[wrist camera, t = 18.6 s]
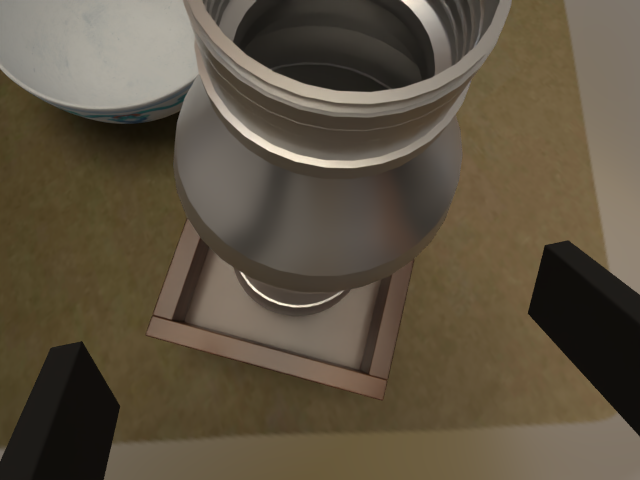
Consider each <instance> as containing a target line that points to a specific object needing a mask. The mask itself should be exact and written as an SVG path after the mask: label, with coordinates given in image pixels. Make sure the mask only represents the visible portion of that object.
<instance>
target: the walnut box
mask: <svg viewBox="0 0 640 480" xmlns="http://www.w3.org/2000/svg"><path fill="white" fill-rule="evenodd" d="M414 259H415V258H414ZM414 259H413V260H412V261H411V262H409V263H408V264H406V265H405V266H403V267H402V268H400V269H399V270H397V271H396V272H394V273H393V274H391V275H390V276H388V277H385V278H383V279H381V280H378V281H376V282H373V283H371V284H368V285H366V286H363V287H359V288H354V289H351V290H350V292H349V293H348V294H347V295H346V296H345V297H344V298H343V299H342V300H341V301H340V302H338V303H337V304H335V305H333V306H332V307H330V308H329V309H326V310H324V311H321V312H319V313H316V314H311V315H306V316H289V315H284V314H279V313H276V312H273V311H271V310H268V309H266V308H264V307H263V306H261V305H260V304H258V303H257V302H255V301H254V300H253V299H252V298H251V297H250V296H249V295H248V294H247V293H246V292H245V290H244V289H243V287H242V286H241V284H240V283H239V281H238V278H237V276H236V273H235V271H234V267H233V266H231V265H229V264H228V263H226V262H225V261H223V260H222V259H221V258H220V257H219V256H218V255H217V254H216V253H215V252H214V251H213V250H212V249H211V248H210V247H209V246H208V245H207V244H206V243H205V242H204V241H203V240H202V239H201V238H200V236H199V235H198V233H197V231H196V230H195V228H194V227H193V225H192V224H191V222H190V221H189V219H188V218H187V220H186V222H185V225H184V228H183V231H182V234H181V236H180V239H179V242H178V245H177V247H176V250H175V253H174V256H173V259H172V261H171V264H170V267H169V270H168V273H167V275H166V278H165V281H164V284H163V287H162V289H161V292H160V295H159V298H158V301H157V303H156V306H155V309H154V312H153V315H154V316H152V318H151V320H150V323H149V326H148V329H147V332H146V336H149V337H153V338H156V339H160V340H164V341H167V342H171V343H175V344H178V345H182V346H185V347H189V348H193V349H196V350H200V351H204V352H207V353H211V354H215V355H218V356H222V357H225V358H229V359H233V360H236V361H240V362H244V363H247V364H251V365H255V366H258V367H262V368H266V369H269V370H273V371H276V372H280V373H284V374H287V375H291V376H295V377H298V378H302V379H306V380H309V381H313V382H316V383H320V384H324V385H327V386H331V387H335V388H338V389H342V390H346V391H349V392H353V393H357V394H360V395H364V396H367V397H371V398H375V399H378V400H383V399H384V395H385V390H386V386H387V380H388V377H389V372H390V368H391V363H392V359H393V354H394V349H395V345H396V340H397V336H398V331H399V327H400V322H401V318H402V313H403V309H404V304H405V300H406V295H407V290H408V286H409V281H410V277H411V272H412V268H413V263H414Z"/></svg>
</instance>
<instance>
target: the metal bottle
mask: <svg viewBox="0 0 640 480" xmlns="http://www.w3.org/2000/svg"><path fill="white" fill-rule="evenodd" d="M511 1H512V0H183V3H184V6H185V9H186V12H187V15H188V18H189V20H190V24H191V27H192V30H193V33H194V35H195V43H194V49H195V55H196V60H197V66H198V72H199V75H198V76H197V77H196V79H195V81H194V82H193V84H192V86H191V88H190V89H189V91H188V93H187V95H186V96H185V98H184V102H183V105H182V108H181V111H180V114H179V118H178V121H177V127H176V137H175V149H174V162H173V168H174V175H175V181H176V188H177V193H178V195H179V198H180V201H181V203H182V206H183V208H184V211H185V214H186V216H187V218H188V219H189V221H190V222H191V224H192V225H193V227H194V228H195V230H196V231H197V233H198V235H199V236H200V238H201V239H202V240H203V241H204V242H205V243H206V244H207V245H208V246H209V247H210V248H211V249H212V250H213V251H214V252H215V253H216V254H217V255H218V256H219V257H220V258H221V259H222V260H223V261H225V262H226V263H228V264H229V265H231V266H233V267H234V271H235V273H236V276H237V278H238V281H239V283H240V284H241V286H242V287H243V289H244V290H245V292H246V293H247V294H248V295H249V296H250V297H251V298H252V299H253V300H254V301H255V302H257V303H258V304H260V305H261V306H263V307H264V308H266V309H268V310H271V311H273V312H276V313H279V314H284V315H289V316H306V315H311V314H316V313H319V312H321V311H324V310H326V309H329V308H330V307H332V306H333V305H335V304H337V303H338V302H340V301H341V300H342V299H343V298H344V297H345V296H346V295H347V294H348V293H349V292H350V290H351V289H354V288H359V287H363V286H366V285H368V284H371V283H373V282H376V281H378V280H381V279H383V278H385V277H388V276H390V275H391V274H393V273H394V272H396V271H397V270H399V269H400V268H402V267H403V266H405V265H406V264H408V263H409V262H411V261H412V260H413V259H414V258H415V257H416V256H417V255H418V254H419V253H420V252H421V251H422V250H423V249H424V248H425V247H426V246H427V245H428V244H429V243H430V242H431V241H432V239H433V238H434V236H435V235H436V233H437V232H438V230H439V228H440V227H441V225H442V224H443V222H444V221H445V218H446V216H447V213H448V210H449V207H450V205H451V202H452V199H453V197H454V194H455V191H456V187H457V184H458V181H459V176H460V169H461V162H462V143H461V131H460V127H459V124H458V121H457V117H456V112H457V111H458V109H459V108H460V107H461V105H462V104H463V101H464V99H465V96H466V93H467V91H468V88H469V85H470V83H471V79H472V78H473V77H474V75H475V74H476V72H477V71H478V70H479V68H480V67H481V66H482V64H483V63H484V61H485V60H486V58H487V57H488V55H489V54H490V52H491V51H492V49H493V48H494V47H495V45H496V43H497V40H498V37H499V35H500V32H501V31H502V28H503V26H504V23H505V20H506V18H507V15H508V12H509V10H510V7H511Z"/></svg>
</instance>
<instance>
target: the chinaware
mask: <svg viewBox="0 0 640 480" xmlns="http://www.w3.org/2000/svg"><path fill="white" fill-rule="evenodd" d="M194 43H195V35H194V33H193V30H192V27H191V24H190V20H189V18H188V15H187V12H186V9H185V6H184V3H183V0H0V69H1V70H2V71H3V72H4V73H5V74H6V75H7V76H8V77H9V78H10V79H11V80H13V81H14V82H15V83H16V84H18V85H19V86H20V87H22V88H23V89H25V90H26V91H28V92H29V93H31V94H33V95H34V96H36V97H38V98H40V99H41V100H43V101H45V102H47V103H49V104H51V105H53V106H55V107H57V108H60V109H62V110H64V111H67V112H69V113H72V114H75V115H78V116H81V117H84V118H88V119H92V120H96V121H102V122H108V123H118V124H133V123H144V122H150V121H154V120H158V119H162V118H165V117H167V116H170V115H172V114H175V113H177V112H179V111H181V108H182V105H183V102H184V98H185V96H186V95H187V93H188V91H189V89H190V88H191V86H192V84H193V82H194V81H195V79H196V77H197V76H198V75H199V72H198V66H197V60H196V55H195V49H194Z"/></svg>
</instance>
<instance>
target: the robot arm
mask: <svg viewBox="0 0 640 480" xmlns="http://www.w3.org/2000/svg"><path fill="white" fill-rule="evenodd" d="M528 314H529V315H530V316H531V317H532V319H533V320H534V321H535V322H536V323H537V324H538V325H539V326H540V327H541V328H542V330H543V331H544V332H545V333H546V334H547V335H548V336H549V337H550V338H551V339H552V341H553V342H554V343H555V344H556V345H557V346H558V347H559V348H560V349H561V350H562V352H563V353H564V354H565V355H566V356H567V357H568V358H569V359H570V360H571V361H572V363H573V364H574V365H575V366H576V367H577V368H578V369H579V370H580V371H581V372H582V374H583V375H584V376H585V377H586V378H587V379H588V380H589V381H590V382H591V383H592V385H593V386H594V387H595V388H596V389H597V390H598V391H599V392H600V393H601V394H602V395H603V397H604V398H605V399H606V400H607V401H608V402H609V403H610V404H611V405H612V406H613V408H614V409H615V410H616V411H617V412H618V413H619V414H620V415H621V416H622V417H623V419H625V421H626V422H627V423H628V424H629V425H630V426H631V427H632V428H633V430H634V431H635V432H636V433H637V434H638V435H639V436H640V295H639V294H638V293H637V292H635V291H634V290H632V289H631V288H630V287H629V286H627V285H626V284H625V283H623V282H622V281H621V280H620V279H618V278H617V277H616V276H614V275H613V274H612V273H610V272H609V271H608V270H606V269H605V268H604V267H603V266H601V265H600V264H599V263H597V262H596V261H595V260H593V259H592V258H591V257H589V256H588V255H587V254H585V253H584V252H583V251H582V250H580V249H579V248H578V247H576V246H575V245H574V244H572V243H571V242H570V241H563V242H559V243H554V244H549V245H545V247H544V251H543V255H542V259H541V263H540V267H539V271H538V275H537V279H536V283H535V287H534V291H533V295H532V299H531V303H530V307H529V311H528ZM119 409H120V405H119V403H118V402H117V400H116V398H115V397H114V395H113V393H112V391H111V390H110V388H109V386H108V385H107V383H106V381H105V380H104V378H103V376H102V374H101V373H100V371H99V369H98V368H97V366H96V364H95V363H94V361H93V359H92V357H91V356H90V354H89V352H88V351H87V349H86V347H85V346H84V344H83V342H82V341H81V342H77V343H72V344H67V345H62V346H57V347H52V348H51V349H50V351H49V353H48V355H47V358H46V360H45V362H44V364H43V367H42V369H41V371H40V373H39V376H38V378H37V380H36V382H35V385H34V387H33V389H32V391H31V394H30V396H29V398H28V400H27V403H26V405H25V407H24V409H23V411H22V414H21V416H20V418H19V420H18V423H17V425H16V427H15V429H14V432H13V434H12V436H11V438H10V441H9V443H8V445H7V447H6V450H5V452H4V454H3V456H2V459H1V461H0V480H104V476H105V471H106V467H107V462H108V458H109V453H110V449H111V445H112V440H113V436H114V431H115V427H116V422H117V418H118V414H119Z"/></svg>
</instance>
